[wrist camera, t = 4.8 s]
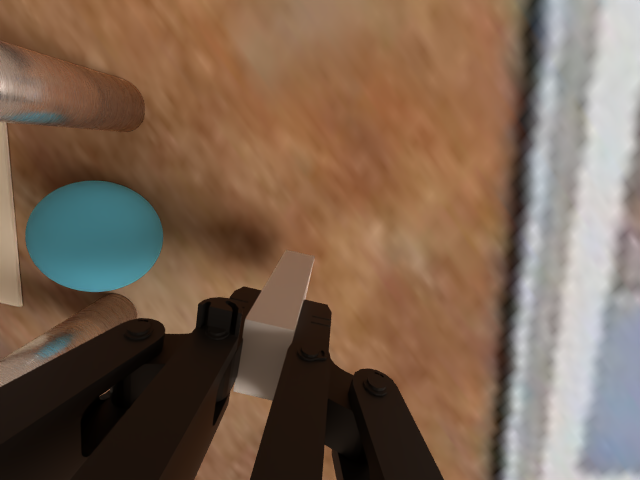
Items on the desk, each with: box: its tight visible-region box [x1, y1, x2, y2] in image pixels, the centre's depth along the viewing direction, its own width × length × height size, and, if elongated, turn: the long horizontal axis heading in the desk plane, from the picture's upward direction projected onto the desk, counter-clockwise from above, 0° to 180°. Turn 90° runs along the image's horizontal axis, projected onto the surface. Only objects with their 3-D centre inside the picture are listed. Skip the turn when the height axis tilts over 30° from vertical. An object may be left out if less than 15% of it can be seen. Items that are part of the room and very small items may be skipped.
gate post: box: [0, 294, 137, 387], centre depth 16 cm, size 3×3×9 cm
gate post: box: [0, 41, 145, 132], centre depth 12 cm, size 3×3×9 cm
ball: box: [26, 180, 163, 292], centre depth 15 cm, size 6×6×6 cm
